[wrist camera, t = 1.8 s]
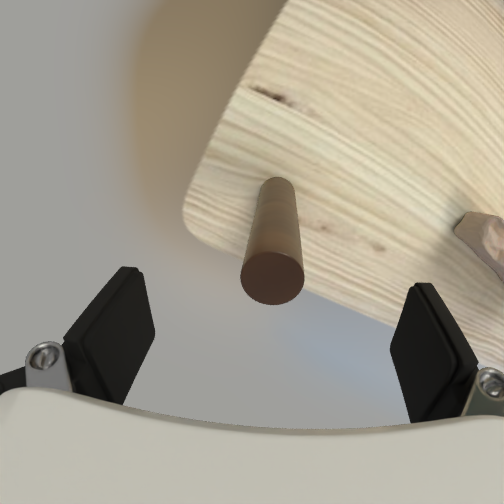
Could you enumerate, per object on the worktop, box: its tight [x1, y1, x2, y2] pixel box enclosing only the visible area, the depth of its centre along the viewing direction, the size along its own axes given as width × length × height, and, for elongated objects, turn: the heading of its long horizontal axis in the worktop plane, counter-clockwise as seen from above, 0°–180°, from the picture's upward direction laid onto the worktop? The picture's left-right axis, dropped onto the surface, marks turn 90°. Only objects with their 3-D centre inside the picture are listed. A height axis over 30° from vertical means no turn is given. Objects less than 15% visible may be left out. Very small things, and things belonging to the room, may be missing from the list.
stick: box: [240, 177, 304, 305], centre depth 16 cm, size 2×2×11 cm
